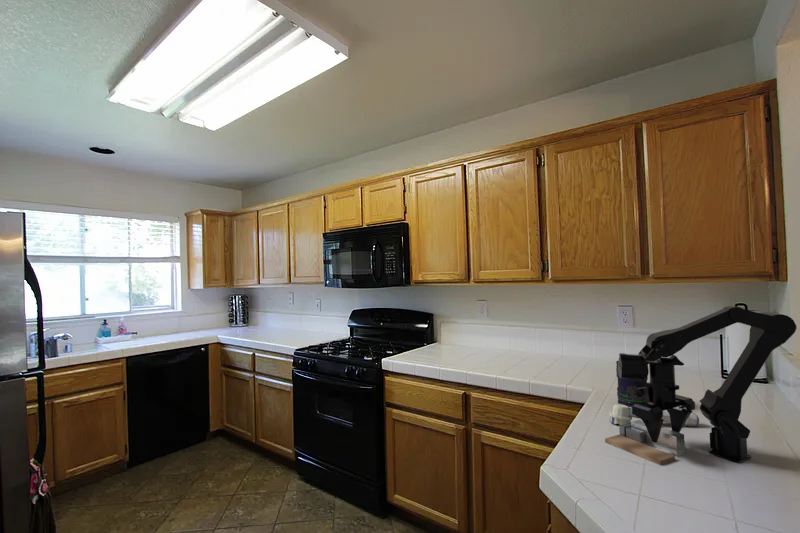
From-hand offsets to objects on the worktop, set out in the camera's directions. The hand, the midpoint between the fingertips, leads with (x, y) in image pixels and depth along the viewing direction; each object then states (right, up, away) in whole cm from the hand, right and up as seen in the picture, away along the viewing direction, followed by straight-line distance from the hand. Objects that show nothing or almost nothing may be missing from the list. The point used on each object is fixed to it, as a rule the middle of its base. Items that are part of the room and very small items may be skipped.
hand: (665, 438), depth 104 cm
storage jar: (+13, -4, +36) cm, 38 cm away
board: (-8, -3, -1) cm, 8 cm away
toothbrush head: (+8, -4, +17) cm, 19 cm away
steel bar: (-1, -3, +2) cm, 4 cm away
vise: (-3, -3, +6) cm, 8 cm away
